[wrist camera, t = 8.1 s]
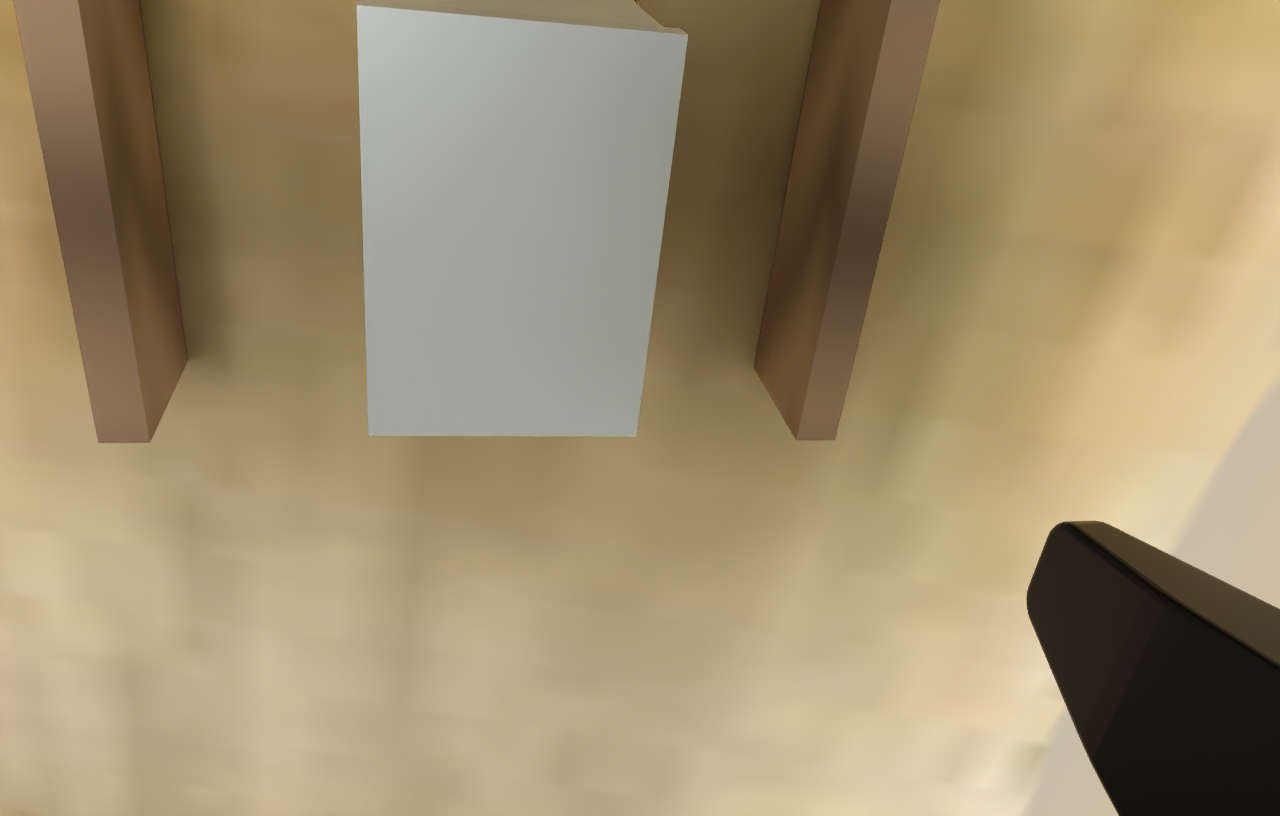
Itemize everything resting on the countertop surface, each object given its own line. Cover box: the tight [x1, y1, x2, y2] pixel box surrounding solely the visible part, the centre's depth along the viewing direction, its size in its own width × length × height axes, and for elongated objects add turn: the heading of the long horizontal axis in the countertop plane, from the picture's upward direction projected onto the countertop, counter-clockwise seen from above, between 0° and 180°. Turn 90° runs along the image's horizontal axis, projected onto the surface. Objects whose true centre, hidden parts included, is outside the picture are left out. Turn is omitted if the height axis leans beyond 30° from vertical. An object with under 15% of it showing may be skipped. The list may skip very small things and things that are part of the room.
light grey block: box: [357, 0, 688, 437], centre depth 16 cm, size 6×4×5 cm
